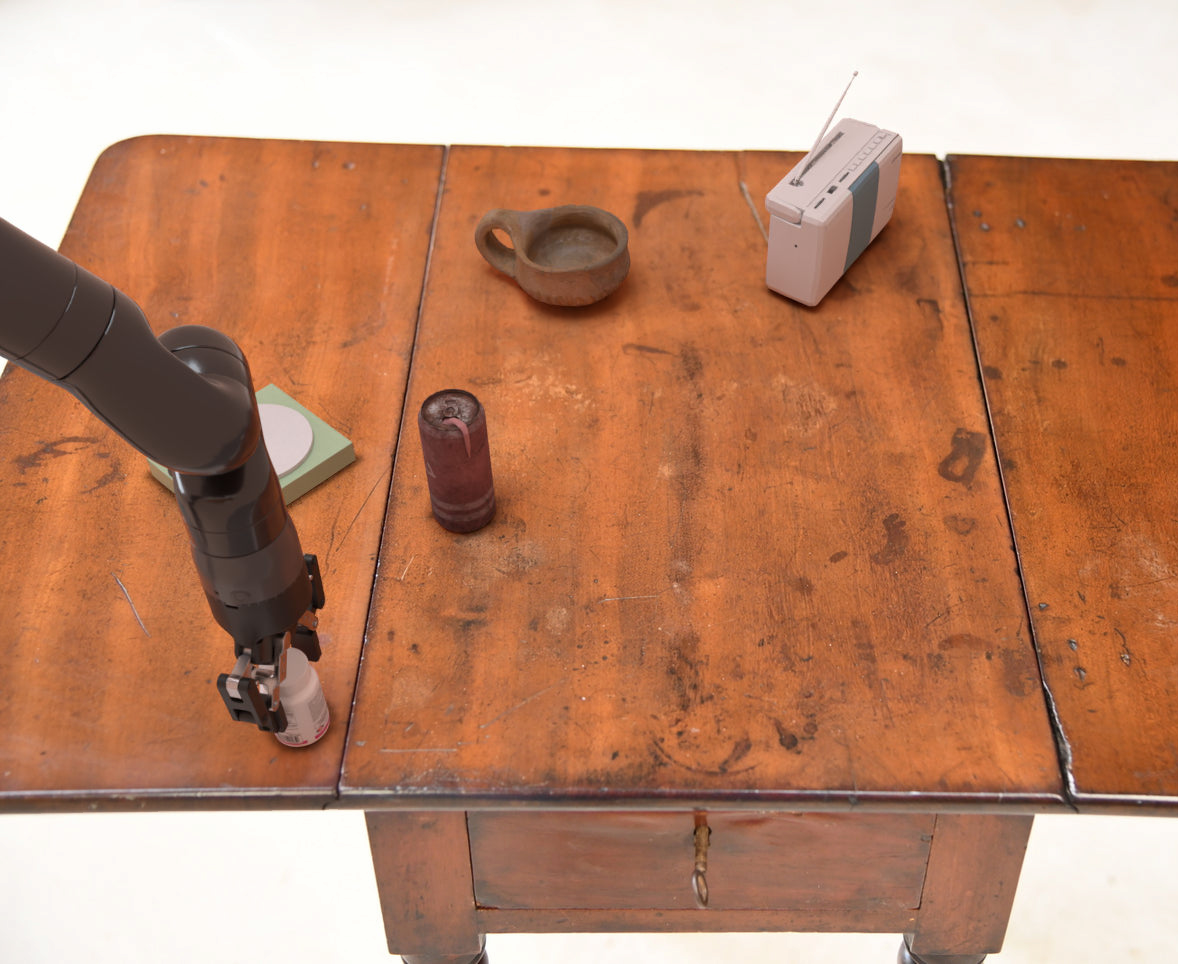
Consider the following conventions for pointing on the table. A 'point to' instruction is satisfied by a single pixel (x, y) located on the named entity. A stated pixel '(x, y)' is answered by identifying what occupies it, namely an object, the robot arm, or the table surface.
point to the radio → (831, 207)
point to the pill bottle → (301, 701)
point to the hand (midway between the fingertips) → (292, 691)
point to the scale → (291, 445)
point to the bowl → (558, 251)
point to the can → (457, 459)
